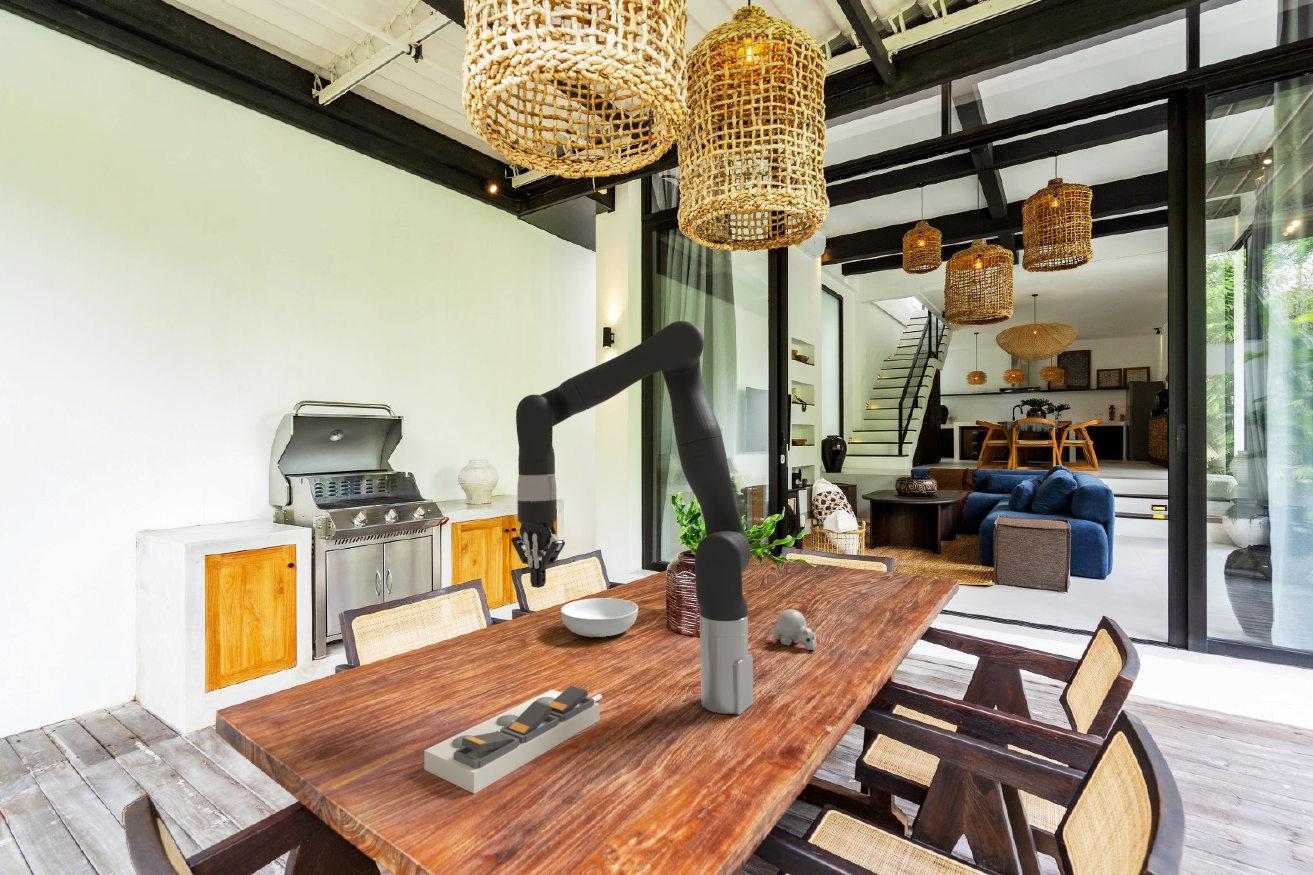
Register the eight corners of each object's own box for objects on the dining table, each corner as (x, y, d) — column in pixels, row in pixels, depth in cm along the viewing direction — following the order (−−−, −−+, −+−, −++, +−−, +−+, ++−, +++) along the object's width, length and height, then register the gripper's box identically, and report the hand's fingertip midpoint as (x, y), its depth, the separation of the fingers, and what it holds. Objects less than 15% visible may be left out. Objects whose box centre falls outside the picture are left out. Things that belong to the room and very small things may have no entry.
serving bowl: (566, 648, 150) (565, 621, 150) (557, 625, 170) (556, 601, 170) (646, 640, 155) (646, 613, 155) (628, 618, 175) (628, 595, 175)
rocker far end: (493, 738, 96) (495, 731, 97) (510, 745, 94) (512, 737, 94) (461, 744, 91) (462, 737, 92) (478, 752, 89) (480, 744, 89)
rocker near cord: (571, 690, 111) (570, 684, 111) (587, 695, 109) (586, 689, 109) (547, 711, 106) (546, 705, 106) (564, 716, 104) (563, 710, 104)
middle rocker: (535, 705, 104) (533, 700, 104) (552, 711, 102) (550, 705, 101) (509, 732, 99) (507, 727, 99) (526, 739, 97) (524, 733, 96)
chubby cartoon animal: (800, 664, 143) (809, 635, 141) (766, 634, 153) (774, 606, 150) (820, 658, 147) (829, 629, 145) (786, 628, 157) (795, 601, 154)
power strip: (578, 691, 123) (578, 672, 123) (624, 705, 116) (624, 684, 116) (424, 769, 94) (424, 743, 94) (474, 793, 87) (474, 765, 87)
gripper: (575, 497, 117) (576, 586, 116) (527, 495, 124) (528, 579, 124) (547, 500, 110) (548, 595, 110) (499, 497, 118) (500, 586, 118)
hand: (538, 586), depth 117 cm, fingers closed
